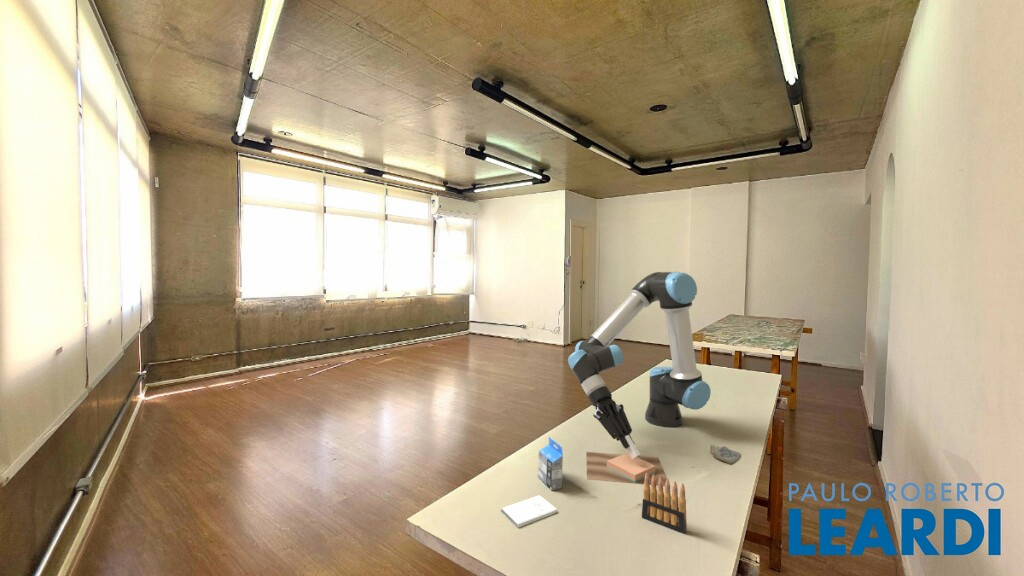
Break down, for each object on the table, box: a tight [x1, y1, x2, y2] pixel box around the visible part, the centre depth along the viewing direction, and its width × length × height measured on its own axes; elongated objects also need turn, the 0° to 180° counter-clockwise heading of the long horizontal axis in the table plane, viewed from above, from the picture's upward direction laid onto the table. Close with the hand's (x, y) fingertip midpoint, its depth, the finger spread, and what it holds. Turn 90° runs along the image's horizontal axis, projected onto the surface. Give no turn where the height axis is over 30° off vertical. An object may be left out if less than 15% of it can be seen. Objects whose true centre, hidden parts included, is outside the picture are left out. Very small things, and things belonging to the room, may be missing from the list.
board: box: [586, 451, 668, 487], centre depth 129 cm, size 19×24×1 cm
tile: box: [607, 452, 656, 482], centre depth 127 cm, size 2×10×11 cm
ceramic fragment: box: [709, 444, 741, 465], centre depth 140 cm, size 11×3×10 cm
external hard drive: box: [500, 495, 558, 529], centre depth 107 cm, size 2×8×12 cm
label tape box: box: [537, 436, 564, 491], centre depth 121 cm, size 9×4×12 cm, turn 23°
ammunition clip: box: [641, 473, 688, 535], centre depth 101 cm, size 11×2×12 cm, turn 52°
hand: (636, 456), depth 125 cm, fingers closed
